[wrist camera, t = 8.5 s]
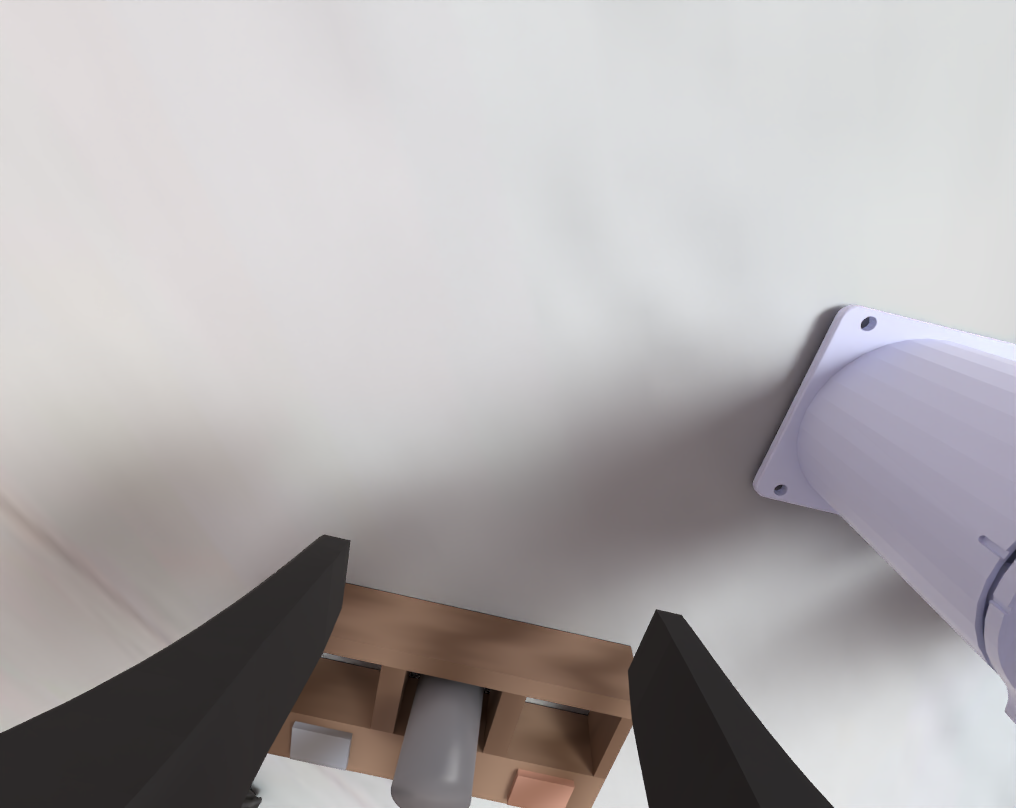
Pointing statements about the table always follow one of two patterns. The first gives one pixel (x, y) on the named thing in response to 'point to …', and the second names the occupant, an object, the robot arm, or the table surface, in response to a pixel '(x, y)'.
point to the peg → (439, 746)
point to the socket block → (477, 661)
